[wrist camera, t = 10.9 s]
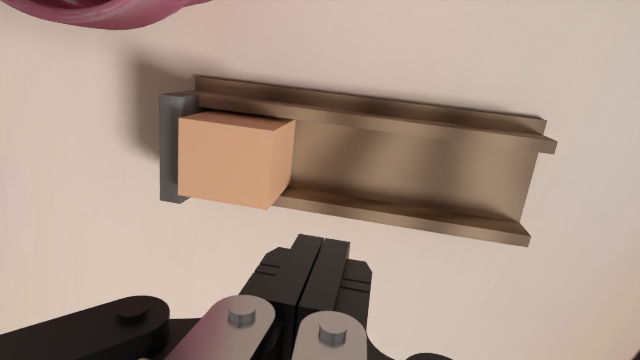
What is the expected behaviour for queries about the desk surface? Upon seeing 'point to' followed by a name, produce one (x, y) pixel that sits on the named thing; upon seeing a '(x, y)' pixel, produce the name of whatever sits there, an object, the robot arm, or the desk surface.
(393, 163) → the walnut chute
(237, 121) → the terracotta block
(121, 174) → the desk surface
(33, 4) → the plant pot
